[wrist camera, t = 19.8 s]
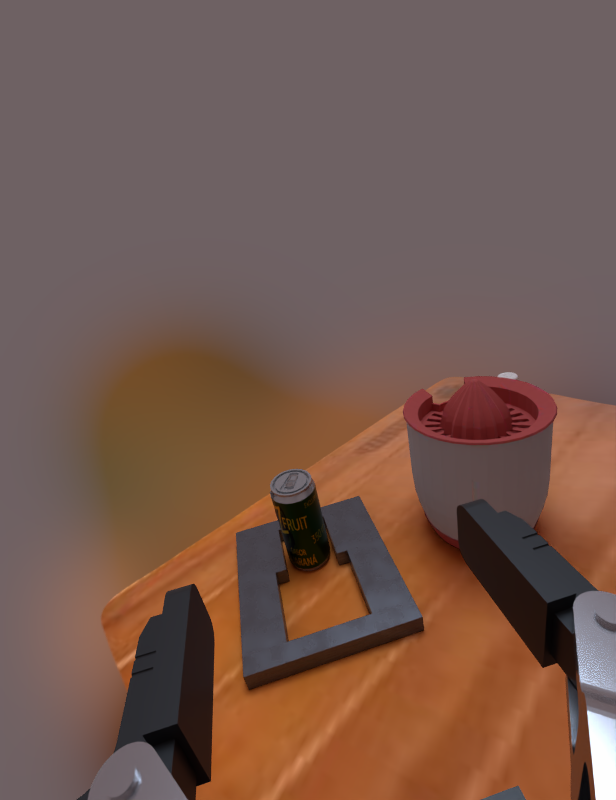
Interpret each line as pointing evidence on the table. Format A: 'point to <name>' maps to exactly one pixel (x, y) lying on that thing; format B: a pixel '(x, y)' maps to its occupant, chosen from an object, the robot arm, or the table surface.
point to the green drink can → (300, 519)
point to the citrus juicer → (481, 450)
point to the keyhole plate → (281, 658)
